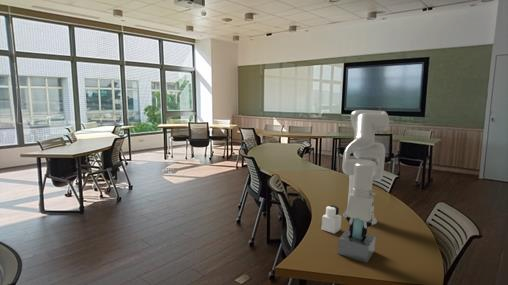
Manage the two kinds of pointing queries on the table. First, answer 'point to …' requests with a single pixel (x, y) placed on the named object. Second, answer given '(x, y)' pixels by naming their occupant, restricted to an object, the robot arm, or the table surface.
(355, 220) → the plug
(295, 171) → the table surface
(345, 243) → the socket
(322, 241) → the table surface
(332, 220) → the medicine bottle
